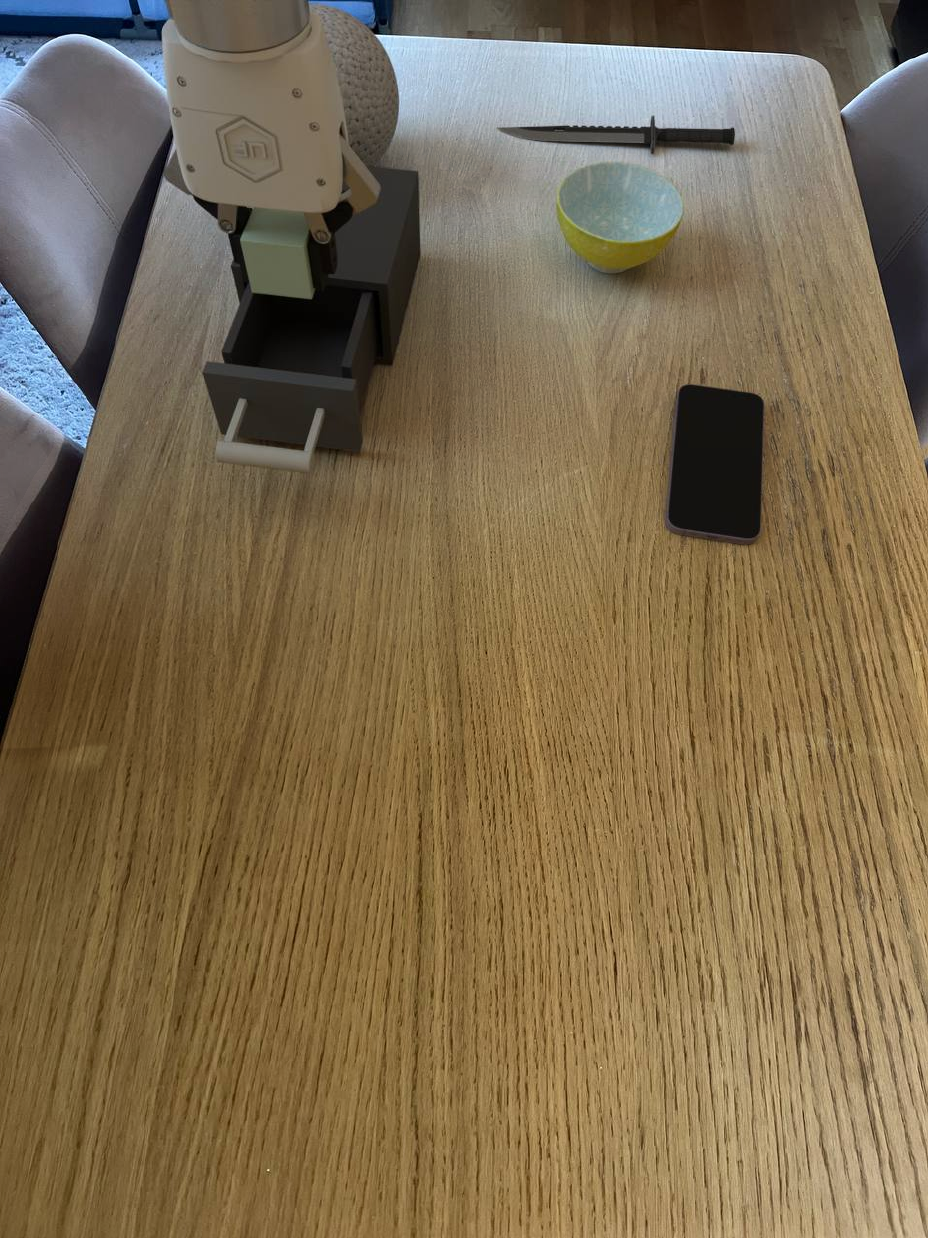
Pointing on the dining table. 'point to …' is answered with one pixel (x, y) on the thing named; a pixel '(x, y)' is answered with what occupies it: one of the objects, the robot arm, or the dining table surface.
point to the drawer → (294, 375)
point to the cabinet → (379, 252)
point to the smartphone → (716, 465)
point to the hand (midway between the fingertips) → (288, 271)
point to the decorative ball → (362, 82)
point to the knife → (623, 134)
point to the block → (278, 253)
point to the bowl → (618, 214)
